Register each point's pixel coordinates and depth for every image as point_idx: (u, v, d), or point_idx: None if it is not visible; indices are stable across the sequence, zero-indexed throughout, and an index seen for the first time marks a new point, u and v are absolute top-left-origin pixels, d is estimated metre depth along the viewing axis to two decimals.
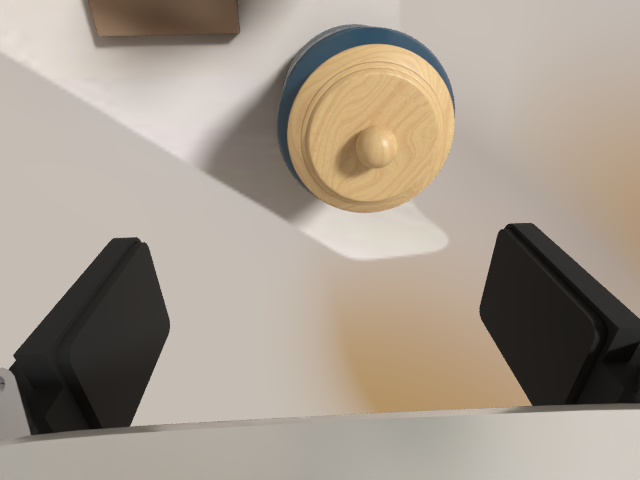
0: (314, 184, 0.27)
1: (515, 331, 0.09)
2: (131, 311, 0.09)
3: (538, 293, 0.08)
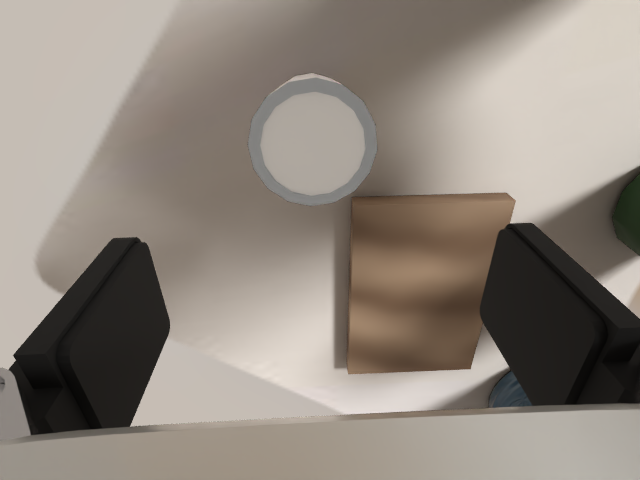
0: None
1: (515, 331, 0.09)
2: (131, 311, 0.09)
3: (538, 293, 0.08)
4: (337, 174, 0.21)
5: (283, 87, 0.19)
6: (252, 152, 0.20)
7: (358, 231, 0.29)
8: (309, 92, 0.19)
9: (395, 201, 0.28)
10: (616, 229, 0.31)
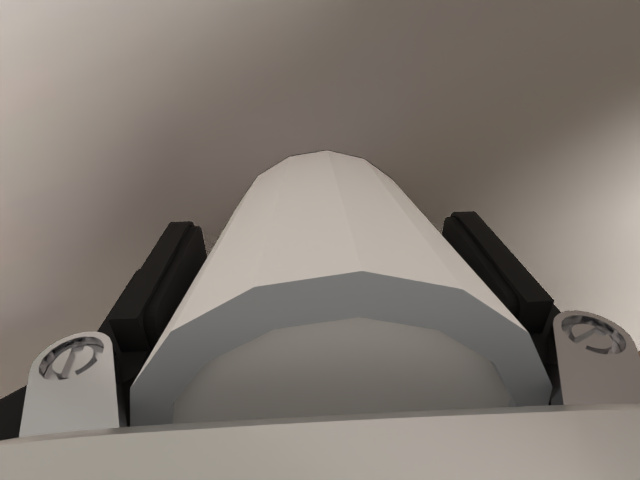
0: None
1: None
2: None
3: None
4: None
5: (234, 305, 0.05)
6: None
7: None
8: (334, 317, 0.05)
9: None
10: None
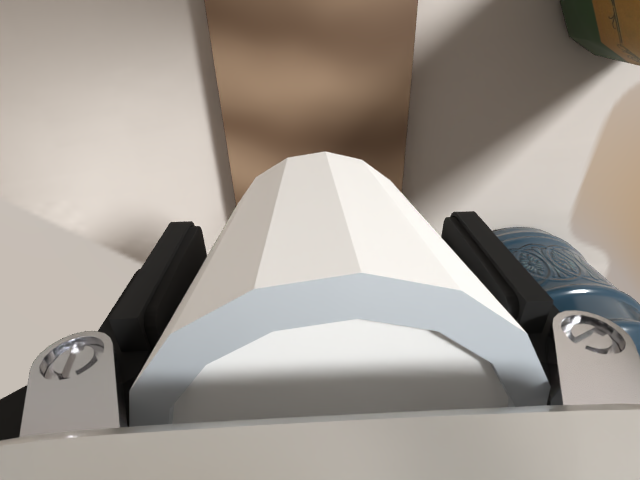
0: None
1: None
2: None
3: None
4: None
5: (234, 307, 0.05)
6: None
7: (212, 12, 0.22)
8: (334, 319, 0.05)
9: None
10: (567, 20, 0.23)
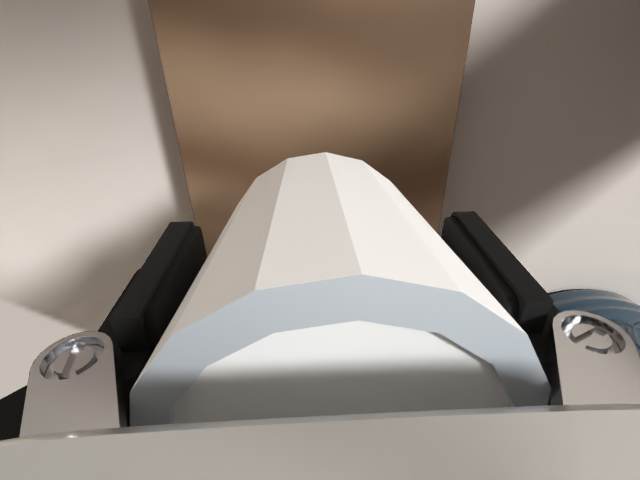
0: None
1: None
2: None
3: None
4: None
5: (234, 308, 0.05)
6: None
7: None
8: (335, 320, 0.05)
9: None
10: None
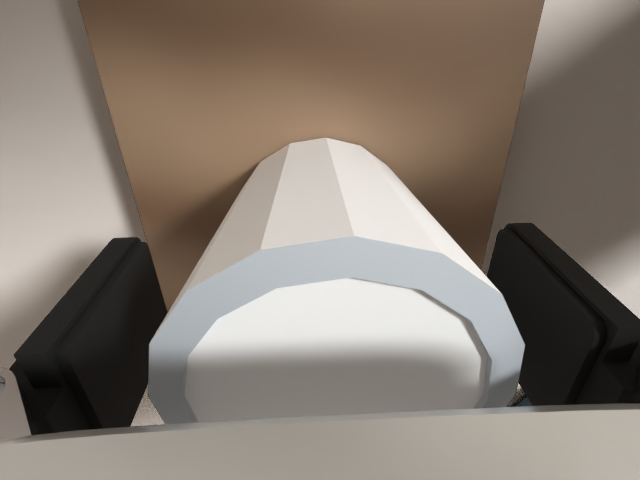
0: None
1: None
2: (131, 310, 0.09)
3: (538, 293, 0.08)
4: None
5: (242, 266, 0.05)
6: (164, 410, 0.07)
7: None
8: (330, 278, 0.06)
9: None
10: None
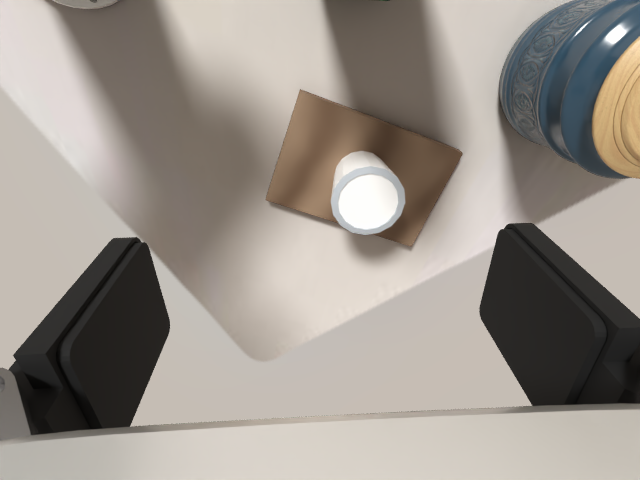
0: None
1: (515, 331, 0.09)
2: (131, 311, 0.09)
3: (538, 293, 0.08)
4: (389, 195, 0.35)
5: (332, 205, 0.35)
6: (356, 232, 0.37)
7: (285, 203, 0.42)
8: (339, 194, 0.35)
9: None
10: None
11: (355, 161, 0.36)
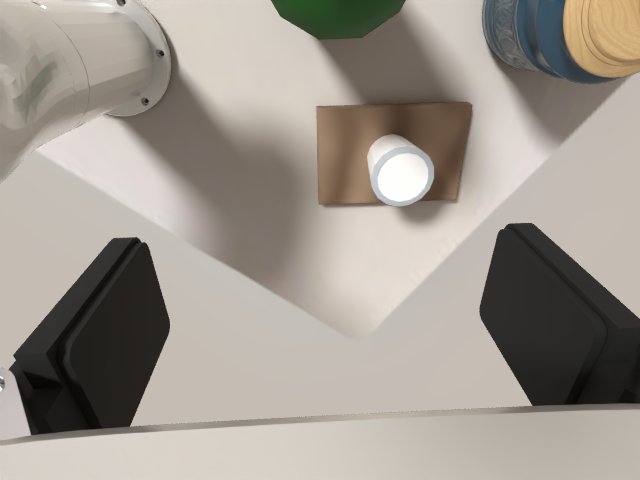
0: None
1: (515, 331, 0.09)
2: (131, 311, 0.09)
3: (538, 293, 0.08)
4: (418, 165, 0.40)
5: (374, 190, 0.42)
6: (401, 204, 0.43)
7: (335, 201, 0.50)
8: (377, 179, 0.41)
9: (318, 180, 0.49)
10: None
11: (381, 148, 0.42)
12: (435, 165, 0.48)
